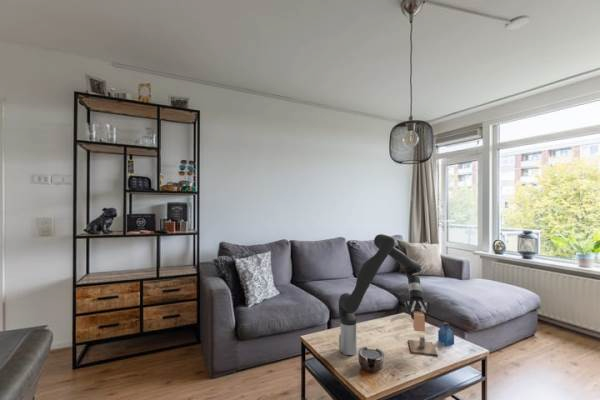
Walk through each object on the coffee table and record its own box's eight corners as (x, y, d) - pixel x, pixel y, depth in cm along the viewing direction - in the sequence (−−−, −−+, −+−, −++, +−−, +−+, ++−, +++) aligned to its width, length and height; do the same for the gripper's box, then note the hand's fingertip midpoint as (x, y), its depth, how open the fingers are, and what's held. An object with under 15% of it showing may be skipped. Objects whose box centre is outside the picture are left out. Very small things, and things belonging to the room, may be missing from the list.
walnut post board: (411, 353, 161) (411, 340, 161) (408, 341, 175) (408, 330, 175) (437, 356, 158) (437, 343, 158) (432, 343, 171) (432, 332, 171)
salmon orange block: (414, 330, 160) (413, 315, 160) (413, 326, 165) (412, 311, 165) (424, 331, 158) (424, 315, 158) (423, 327, 164) (422, 311, 164)
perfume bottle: (445, 339, 177) (445, 320, 177) (454, 343, 172) (454, 324, 172) (438, 340, 175) (438, 321, 175) (446, 345, 169) (446, 325, 169)
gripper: (403, 288, 171) (406, 315, 159) (428, 289, 167) (433, 317, 156) (402, 294, 176) (405, 321, 164) (427, 295, 172) (431, 323, 161)
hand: (419, 319), depth 160 cm, fingers closed on salmon orange block, 5 cm apart
